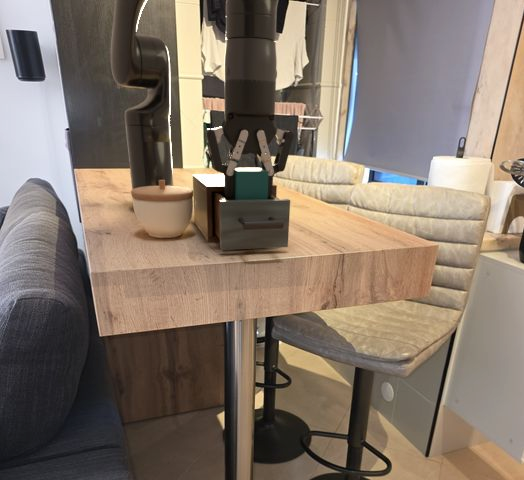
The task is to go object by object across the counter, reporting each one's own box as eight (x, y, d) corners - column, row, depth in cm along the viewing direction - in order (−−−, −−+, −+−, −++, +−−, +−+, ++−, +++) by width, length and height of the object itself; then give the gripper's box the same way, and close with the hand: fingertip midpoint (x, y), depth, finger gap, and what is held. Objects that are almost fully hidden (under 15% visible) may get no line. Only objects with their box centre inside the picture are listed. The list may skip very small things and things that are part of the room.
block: (230, 199, 75) (230, 167, 73) (259, 199, 77) (259, 167, 74) (237, 205, 71) (237, 171, 69) (267, 204, 73) (268, 171, 70)
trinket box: (132, 229, 86) (126, 176, 82) (187, 226, 90) (185, 175, 85) (139, 243, 77) (133, 185, 73) (200, 239, 81) (199, 183, 77)
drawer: (298, 255, 70) (301, 205, 67) (227, 258, 67) (227, 207, 64) (263, 227, 87) (264, 186, 83) (205, 229, 84) (204, 187, 80)
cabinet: (274, 239, 83) (276, 185, 78) (207, 241, 79) (206, 186, 75) (252, 220, 96) (253, 174, 92) (194, 222, 93) (192, 174, 89)
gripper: (288, 82, 71) (282, 195, 79) (197, 77, 67) (200, 196, 75) (305, 79, 65) (297, 203, 73) (205, 74, 61) (208, 205, 69)
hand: (248, 199), depth 74 cm, fingers closed on block, 5 cm apart
